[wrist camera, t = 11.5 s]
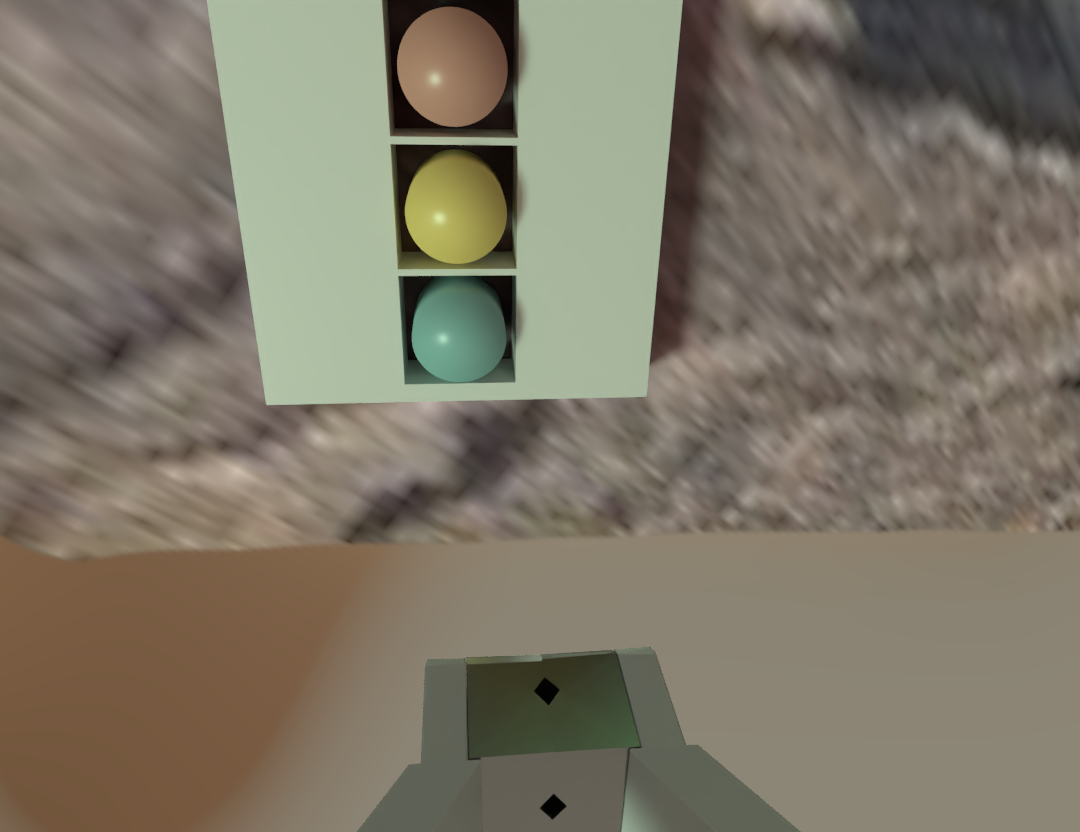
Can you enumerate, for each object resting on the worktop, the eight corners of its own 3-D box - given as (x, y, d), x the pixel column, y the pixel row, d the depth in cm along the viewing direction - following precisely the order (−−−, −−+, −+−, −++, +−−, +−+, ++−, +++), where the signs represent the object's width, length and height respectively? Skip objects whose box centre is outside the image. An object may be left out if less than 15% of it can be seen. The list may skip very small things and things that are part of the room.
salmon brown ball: (502, 10, 32) (507, 8, 29) (502, 118, 34) (507, 127, 31) (399, 7, 32) (393, 5, 29) (405, 117, 34) (400, 126, 31)
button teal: (502, 270, 37) (506, 293, 34) (502, 353, 39) (506, 381, 36) (413, 271, 37) (409, 293, 34) (417, 354, 39) (414, 383, 35)
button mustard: (502, 149, 35) (507, 161, 32) (502, 243, 36) (506, 263, 33) (406, 148, 34) (402, 160, 31) (411, 243, 36) (407, 264, 33)
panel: (666, -23, 33) (685, -28, 30) (633, 372, 41) (646, 396, 38) (222, -37, 31) (200, -44, 28) (279, 379, 39) (266, 405, 36)
